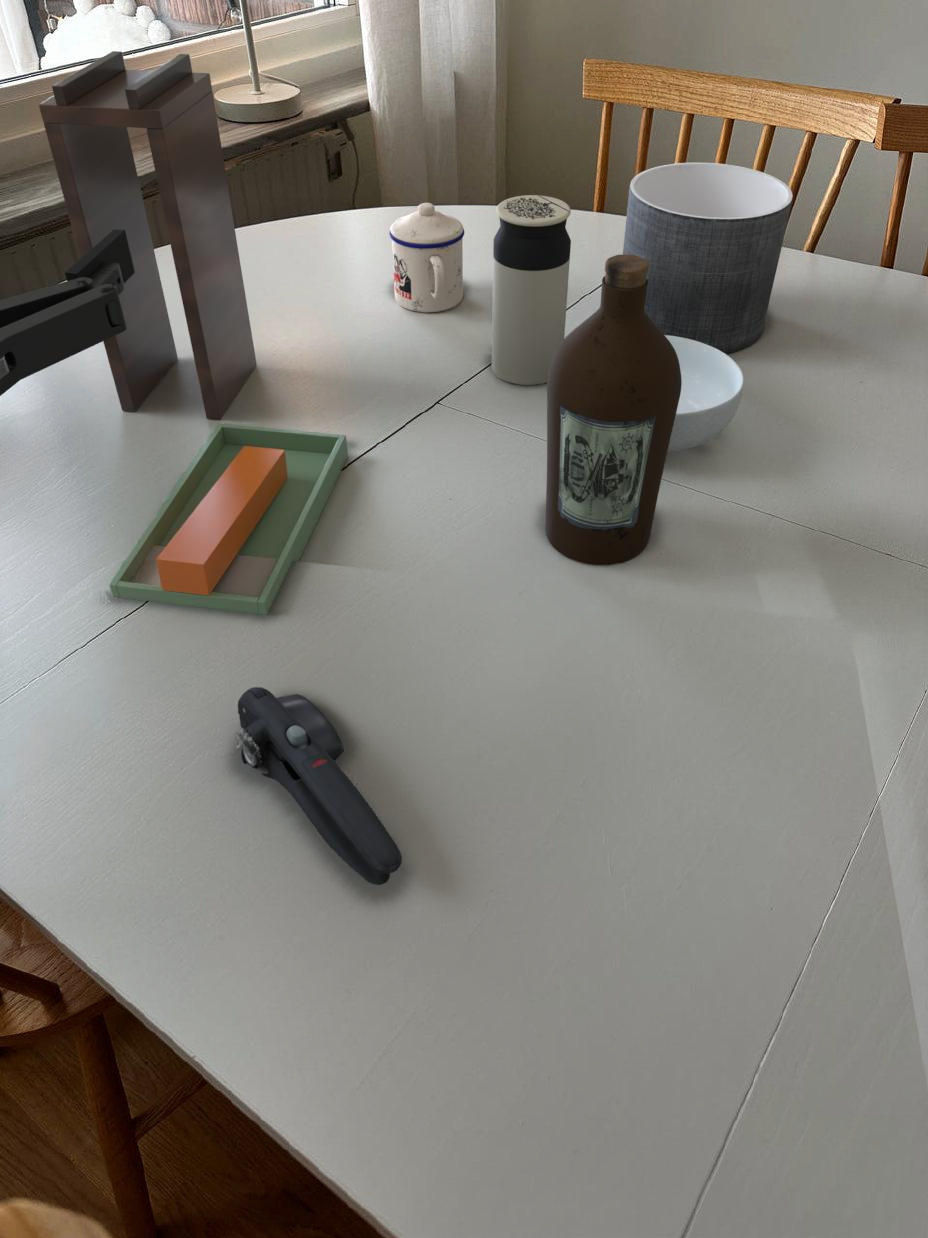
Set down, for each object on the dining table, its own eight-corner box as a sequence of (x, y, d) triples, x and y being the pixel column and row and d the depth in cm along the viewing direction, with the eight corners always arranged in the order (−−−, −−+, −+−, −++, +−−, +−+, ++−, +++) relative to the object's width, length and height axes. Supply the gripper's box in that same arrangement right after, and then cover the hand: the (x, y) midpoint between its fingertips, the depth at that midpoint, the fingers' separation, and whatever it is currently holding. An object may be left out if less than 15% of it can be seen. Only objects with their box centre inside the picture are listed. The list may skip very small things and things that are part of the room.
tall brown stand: (121, 411, 104) (32, 84, 83) (166, 357, 113) (95, 49, 92) (220, 420, 103) (154, 90, 82) (257, 365, 112) (206, 54, 90)
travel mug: (510, 393, 107) (515, 227, 94) (479, 361, 112) (481, 200, 100) (574, 378, 109) (587, 214, 97) (541, 347, 114) (550, 188, 102)
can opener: (220, 745, 70) (206, 692, 66) (306, 704, 73) (297, 650, 69) (342, 929, 60) (333, 878, 56) (438, 872, 62) (435, 820, 59)
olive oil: (548, 492, 93) (566, 228, 76) (660, 507, 91) (704, 240, 74) (528, 562, 85) (543, 285, 68) (650, 579, 84) (697, 300, 67)
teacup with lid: (387, 287, 127) (381, 194, 119) (455, 280, 128) (454, 188, 120) (405, 328, 118) (400, 232, 110) (478, 320, 120) (478, 224, 112)
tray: (116, 607, 81) (108, 584, 80) (222, 444, 100) (218, 422, 98) (268, 625, 80) (264, 602, 78) (348, 456, 98) (346, 434, 96)
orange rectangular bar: (162, 590, 79) (155, 559, 77) (248, 473, 95) (244, 445, 93) (209, 595, 78) (203, 564, 77) (287, 477, 94) (284, 449, 92)
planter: (760, 296, 124) (787, 166, 114) (767, 363, 112) (798, 224, 101) (619, 286, 127) (633, 158, 116) (610, 350, 114) (625, 213, 103)
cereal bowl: (698, 385, 108) (709, 325, 103) (757, 469, 96) (772, 405, 91) (549, 399, 106) (552, 338, 101) (589, 486, 94) (596, 422, 89)
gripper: (-377, 458, 51) (-129, 286, 66) (68, 506, 48) (220, 314, 63) (-470, 324, 46) (-179, 171, 61) (21, 368, 43) (199, 195, 58)
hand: (24, 243), depth 62 cm, fingers open, 13 cm apart
